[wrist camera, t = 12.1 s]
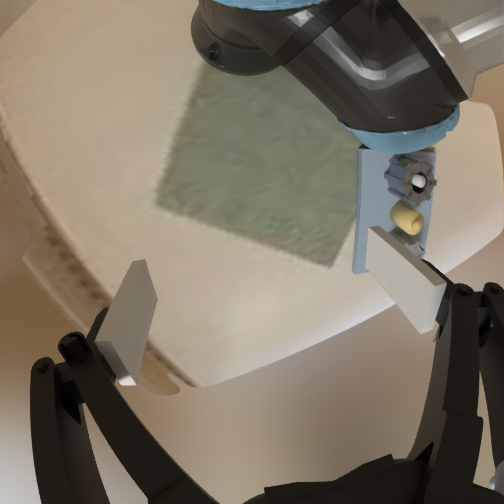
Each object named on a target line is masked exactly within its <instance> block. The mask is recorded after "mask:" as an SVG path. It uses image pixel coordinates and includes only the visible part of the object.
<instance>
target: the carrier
mask: <svg viewBox="0 0 504 504" xmlns="http://www.w3.org/2000/svg"><path fill="white" fill-rule="evenodd" d="M358 149H359V163H358V201H357V220H356V235H355V247H354V258H353V268H352V272H353V273H354V274H360V273H366V272H369V271H368V270H367V269H366V268H365V263H366V252H367V240H368V227H374V226H380V227H381V228H382V229H384V230H385V231H386V232H388V233H389V234H390V235H391V236H393V237H394V238H395V239H396V240H398V241H399V242H400V243H401V244H403V245H404V246H405V247H406V248H408V249H409V250H410V251H411V252H412V253H414V254H415V255H416V256H417V257H418V258H420V259H423V255H424V254H425V245H426V239H427V233H428V227H429V221H430V214H431V206H432V198H433V190H432V192H431V197H432V198H431V199H430V200H429V201H427V200H424V201H423V202H421V203H420V207H415V206H413V205H411V204H410V203H408V202H405V201H403V200H401V199H400V198H398V197H396V196H394V195H392V194H390V193H389V191H388V190H387V189H388V188H389V185H388V181H387V180H386V179H384V173H387V171H388V169H389V166H390V163H389V160H390V159H391V158H395V159H397V158H399V157H401V154H386V153H381V152H378V151H376V150H374V149H369V148H358ZM406 154H409V155H413V156H416V157H420V158H423V161H424V162H427V163H430V164H432V165H433V167H434V169H433V175H434V178H435V163H436V153H434V152H427V151H415V152H410V153H406ZM425 183H426V180H425V178H424V177H423V176H421V175H418V174H414V177H413V179H412V182H411V184H413V185H416V186H418V187H420V188H422V187H424V185H425ZM433 189H434V187H433Z"/></svg>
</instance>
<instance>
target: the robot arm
mask: <svg viewBox="0 0 504 504" xmlns="http://www.w3.org/2000/svg"><path fill="white" fill-rule="evenodd" d="M191 35H192V39H193V42H194V45H195V47H196V49H197V51H198V53H199V54H200V55H201V57H202V58H203V59H204V60H205V61H206V62H208V63H209V64H210V65H212V66H213V67H215V68H217V69H219V70H221V71H224V72H226V73H230V74H235V75H244V76H249V75H258V74H263V73H266V72H269V71H272V70H274V69H276V68H277V67H279V66H281V65H282V66H283V67H284V68H285V69H286V70H287V71H288V72H290V73H291V74H292V75H293V76H294V77H295V78H297V79H298V80H299V81H300V82H301V83H302V84H303V85H304V86H305V87H306V88H308V89H309V90H310V91H311V92H312V93H313V94H314V95H315V96H316V97H317V98H318V99H319V100H320V101H321V102H322V103H323V104H324V105H325V106H326V107H327V108H328V109H329V110H330V111H331V112H332V113H333V114H334V115H335V116H336V117H337V119H338V121H339V122H340V123H341V125H343V126H344V127H345V128H347V129H349V130H350V131H351V132H352V133H353V134H354V135H355V136H356V137H357V138H358V139H359V140H360V141H361V142H362V143H363V144H364V145H366V146H367V147H369V148H370V149H374V150H376V151H378V152H381V153H386V154H405V153H410V152H415V151H418V150H422V149H424V148H427V147H429V146H431V145H433V144H435V143H437V142H439V141H440V140H442V139H443V138H444V137H446V131H452V130H453V129H454V127H455V126H456V125H457V123H458V120H459V116H460V110H459V103H460V102H462V101H464V100H466V99H469V98H471V97H472V93H473V88H474V83H475V79H476V77H477V75H478V74H480V73H483V72H485V71H487V70H490V69H492V68H494V67H497V66H499V65H501V64H504V0H199V6H198V7H197V9H196V11H195V13H194V15H193V18H192V23H191ZM365 268H366V269H367V270H368V271H369V272H370V273H371V274H372V276H373V277H374V278H375V279H376V280H377V281H378V283H379V284H380V285H381V286H382V287H383V288H384V290H385V291H386V292H387V293H388V294H389V296H390V297H391V298H392V299H393V300H394V302H395V303H396V304H397V305H398V306H399V308H400V309H401V310H402V311H403V313H404V314H405V315H406V316H407V318H408V319H409V320H410V321H411V323H412V324H413V325H414V326H415V328H416V329H417V330H418V332H419V333H420V334H422V333H425V332H428V331H430V330H432V328H433V325H434V323H435V320H436V321H437V322H438V323H439V328H438V330H437V333H436V336H435V338H434V341H433V342H435V341H436V347H435V354H434V362H433V368H432V373H431V379H430V384H429V389H428V393H427V398H426V402H425V407H424V411H423V415H422V419H421V422H420V426H419V429H418V433H417V436H416V439H415V443H414V445H413V448H412V450H411V452H410V453H409V455H408V457H407V459H393V457H392V455H391V454H389V455H386V456H384V457H381V458H379V459H376V460H373V461H370V462H368V463H365V464H362V465H361V466H359V467H357V468H356V469H354V470H352V471H351V472H349V473H347V474H345V475H344V476H342V477H340V478H338V479H336V480H334V481H328V482H295V483H290V484H284V485H278V486H271V487H265V488H264V491H265V493H263V494H260V495H257V496H255V497H253V498H251V499H249V500H248V501H246V502H244V503H243V504H504V289H503V288H502V287H501V286H500V285H499V284H496V283H492V282H489V283H486V284H485V286H484V288H483V291H479V292H474V291H473V289H472V288H471V287H469V286H468V285H465V284H460V283H457V284H454V283H453V282H451V280H449V279H448V278H447V277H446V276H445V275H444V274H443V273H441V272H440V271H439V270H438V269H437V268H435V266H433V265H432V264H431V263H430V262H428V261H426V260H424V259H420V258H418V257H417V256H416V255H415V254H414V253H412V252H411V251H410V250H409V249H408V248H406V247H405V246H404V245H403V244H401V243H400V242H399V241H398V240H396V239H395V238H394V237H393V236H391V235H390V234H389V233H388V232H386V231H385V230H384V229H382V228H381V227H380V226H374V227H368V240H367V252H366V263H365ZM157 300H158V298H157V295H156V292H155V289H154V286H153V283H152V280H151V277H150V274H149V271H148V268H147V264H146V261H145V259H144V260H138V261H133V262H132V264H131V266H130V268H129V270H128V272H127V274H126V275H125V277H124V279H123V281H122V283H121V285H120V287H119V289H118V291H117V293H116V295H115V297H114V299H113V302H112V304H111V306H110V308H105V309H103V310H102V311H101V312H100V313H99V314H98V315H97V317H96V319H95V321H94V324H93V325H92V327H91V329H90V331H89V333H88V335H87V338H86V339H85V337H84V335H83V334H82V333H81V332H71V333H69V334H67V335H66V336H64V337H63V338H62V339H61V340H60V341H59V344H58V350H59V352H60V353H61V354H62V356H63V358H64V359H65V362H62V363H58V364H55V363H54V361H53V360H52V359H51V358H49V357H44V358H41V359H39V360H38V361H36V362H35V363H34V365H33V367H32V370H31V382H30V383H31V384H30V421H31V438H32V450H33V458H34V466H35V473H36V479H37V484H38V489H39V494H40V499H41V503H42V504H110V502H109V499H108V497H107V494H106V491H105V488H104V486H103V483H102V480H101V477H100V474H99V471H98V467H97V464H96V461H95V457H94V454H93V450H92V446H91V442H90V439H89V434H88V430H87V426H86V421H85V416H84V411H83V405H82V403H86V405H87V407H88V409H89V411H90V412H91V414H92V416H93V418H94V420H95V422H96V423H97V425H98V427H99V429H100V430H101V432H102V434H103V435H104V437H105V439H106V440H107V442H108V444H109V445H110V447H111V448H112V450H113V451H114V453H115V455H116V456H117V458H118V459H119V461H120V462H121V463H122V465H123V466H124V467H125V469H126V471H127V472H128V473H129V475H130V476H131V477H132V479H133V480H134V481H135V483H136V484H137V485H138V487H139V488H140V489H141V490H142V492H143V493H144V494H145V496H146V497H147V498H148V504H220V503H218V502H217V501H216V500H215V499H214V498H213V497H211V496H210V495H209V494H208V493H207V492H206V491H205V490H204V489H203V488H201V487H200V486H199V485H198V484H197V483H196V482H195V481H194V480H193V479H192V478H191V477H190V476H189V475H188V474H187V473H186V472H185V471H184V470H183V469H182V468H181V467H180V466H179V465H178V464H177V463H176V462H175V461H174V459H173V458H172V457H171V456H170V455H169V454H168V453H167V452H166V451H165V450H164V449H163V447H162V446H161V445H160V444H159V443H158V441H157V440H156V439H155V438H154V437H153V436H152V434H151V433H150V432H149V431H148V429H146V427H145V426H144V424H143V423H142V422H141V421H140V419H139V418H138V417H137V415H136V414H135V413H134V411H133V410H132V409H131V407H130V406H129V405H128V403H127V402H126V400H125V399H124V398H123V396H122V395H121V393H120V392H119V390H118V389H117V388H116V386H115V385H114V383H115V379H116V378H117V379H118V381H119V382H120V384H121V385H136V384H137V380H138V376H139V371H140V367H141V362H142V358H143V354H144V350H145V345H146V341H147V337H148V333H149V329H150V326H151V322H152V318H153V314H154V311H155V307H156V303H157ZM492 324H493V326H492ZM479 371H480V372H481V376H482V381H483V386H484V391H485V397H486V403H487V409H488V415H489V423H490V432H491V443H492V452H493V459H494V464H495V468H496V471H495V475H494V476H493V477H492V478H491V480H490V487H491V488H492V489H494V490H491V489H488V488H485V487H482V486H479V485H477V484H474V483H473V479H474V475H475V471H476V467H477V462H478V456H479V451H480V445H481V438H482V431H483V419H482V417H478V416H477V408H478V396H479Z"/></svg>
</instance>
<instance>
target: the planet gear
mask: <svg viewBox="0 0 504 504" xmlns="http://www.w3.org/2000/svg"><path fill="white" fill-rule="evenodd" d="M389 163H390V166H389V169H388V171H387V173H384V179H386V180H387V181H388V185H389V188H388V189H387V190H388V191H389V193H390V194H392V195H394V196H396V197H398V198H400V199H401V200H403V201H405V202H408V203H410V204H411V205H413V206H415V207H420V203H421V202H423V201H424V200H427V201H429V200H430V199H431V198H432V197H431V192H432V190H433V187H434V186H436V184H437V180H435V179H434V175H433V169H434V167H433V165H432V164H430V163H427V162H424V161H423V158H420V157H416V156H413V155H409V154H406V153H405V154H401V157H399V158H397V159H395V158H391V159H390V160H389ZM414 174H418V175H421V176H423V177H424V178H425V180H426V183H425V185H424V187H422V188H420V187H418V186H416V185H413V184H411V182H412V179H413V177H414Z"/></svg>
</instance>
